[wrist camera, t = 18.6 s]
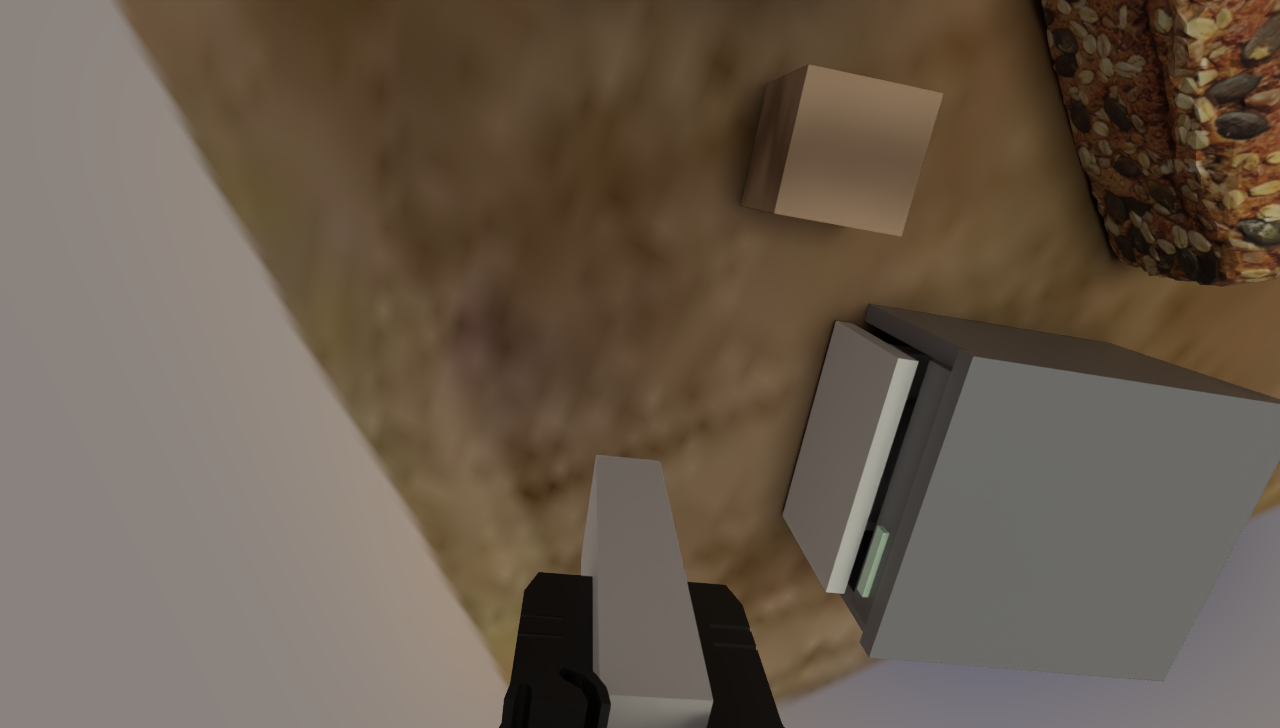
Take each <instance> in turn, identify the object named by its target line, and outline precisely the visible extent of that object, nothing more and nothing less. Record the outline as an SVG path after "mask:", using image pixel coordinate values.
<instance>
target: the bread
mask: <svg viewBox="0 0 1280 728" xmlns="http://www.w3.org/2000/svg"><path fill="white" fill-rule="evenodd" d="M1041 1H1042V6H1043V12H1044V18H1045V22H1046V24H1047V26H1048V29H1047V38H1048V45H1049V49H1050V53H1051V57H1052V59H1053V60H1054V61H1055V62H1054V67H1053V68H1054V70H1055V71H1056V73H1057V75H1058V80H1059V84H1060V88H1061V91H1062V94H1063V101H1064V104H1065V105H1066V108H1067V112H1068V116H1069V120H1070V124H1071V128H1072V133H1073V138H1074V142H1075V145H1076V148H1077V151H1078V154H1079V157H1080V161H1081V166H1082V169H1083V170H1084V171H1085V172H1086V174H1087V175H1088V177H1089V180H1090V183H1091V188H1092V194H1093V196H1094V197H1095V198H1096V199H1097V201H1098V211H1099V213H1100V214H1101V215H1102V216H1103V217H1104V219H1105V227H1106V230H1107V232H1108V235H1109V242H1110V244H1111V246H1112V248H1113V251H1114V253H1115V254H1116V255H1117V256H1118V258H1119V260H1120V261H1121V262H1123V263H1125V264H1127V265H1130V266H1133V267H1141V268H1142V269H1143V270H1144V271H1145V272H1147V271H1148V274H1149V276H1156V275H1159V277H1160V278H1163V277H1168V278H1172V279H1175V280H1178V281H1197V282H1198V283H1199V284H1200V285H1215V286H1221V287H1223V286H1229V285H1236V284H1243V283H1249V282H1259V281H1267V280H1274V279H1277V278H1280V0H1041Z"/></svg>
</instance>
